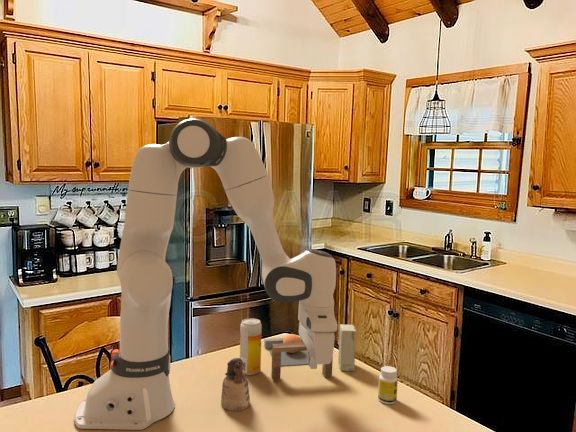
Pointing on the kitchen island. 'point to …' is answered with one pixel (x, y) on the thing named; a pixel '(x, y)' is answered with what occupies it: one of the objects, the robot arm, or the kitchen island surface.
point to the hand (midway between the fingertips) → (312, 366)
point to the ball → (292, 340)
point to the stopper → (273, 342)
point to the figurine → (235, 387)
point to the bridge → (292, 347)
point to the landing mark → (293, 358)
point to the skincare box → (347, 347)
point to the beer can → (250, 346)
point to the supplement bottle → (388, 385)
